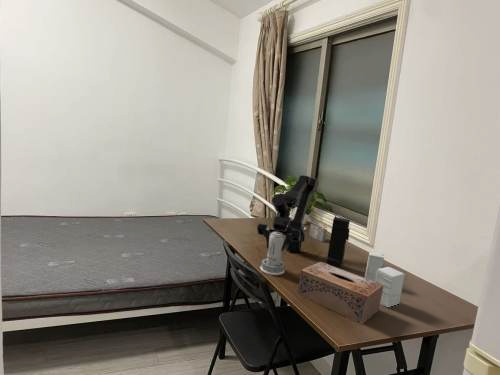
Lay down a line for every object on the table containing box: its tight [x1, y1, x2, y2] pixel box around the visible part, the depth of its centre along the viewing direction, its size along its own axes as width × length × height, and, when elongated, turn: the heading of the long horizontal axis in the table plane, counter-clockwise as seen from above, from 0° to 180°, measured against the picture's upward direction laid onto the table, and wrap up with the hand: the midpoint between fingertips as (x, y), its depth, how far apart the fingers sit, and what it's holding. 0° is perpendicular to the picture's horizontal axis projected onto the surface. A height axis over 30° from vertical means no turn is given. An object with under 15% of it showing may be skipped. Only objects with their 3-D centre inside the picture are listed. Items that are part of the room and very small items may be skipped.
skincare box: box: [363, 251, 385, 282], centre depth 156 cm, size 6×4×12 cm
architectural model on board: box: [308, 223, 328, 242], centre depth 210 cm, size 11×3×10 cm, turn 31°
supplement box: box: [375, 266, 406, 308], centre depth 137 cm, size 7×7×13 cm
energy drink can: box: [266, 232, 285, 266], centre depth 155 cm, size 6×6×15 cm
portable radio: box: [326, 215, 351, 269], centre depth 168 cm, size 8×6×25 cm
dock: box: [259, 258, 285, 276], centre depth 156 cm, size 10×10×3 cm
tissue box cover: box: [297, 261, 384, 324], centre depth 133 cm, size 26×14×10 cm, turn 50°
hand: (274, 249), depth 153 cm, fingers closed on energy drink can, 6 cm apart
